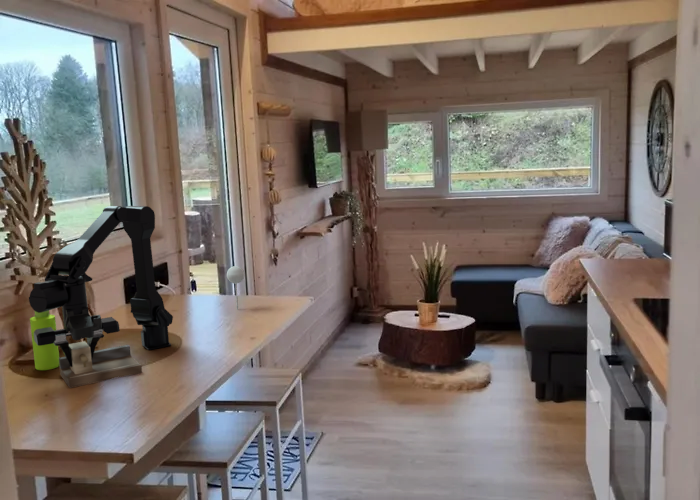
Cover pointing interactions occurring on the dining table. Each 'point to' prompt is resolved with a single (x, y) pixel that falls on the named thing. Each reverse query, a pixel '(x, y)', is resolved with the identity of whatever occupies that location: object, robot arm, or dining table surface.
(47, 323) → the soap dispenser
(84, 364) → the block
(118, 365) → the grey stepped stand
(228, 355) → the dining table surface
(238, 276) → the lollipop
